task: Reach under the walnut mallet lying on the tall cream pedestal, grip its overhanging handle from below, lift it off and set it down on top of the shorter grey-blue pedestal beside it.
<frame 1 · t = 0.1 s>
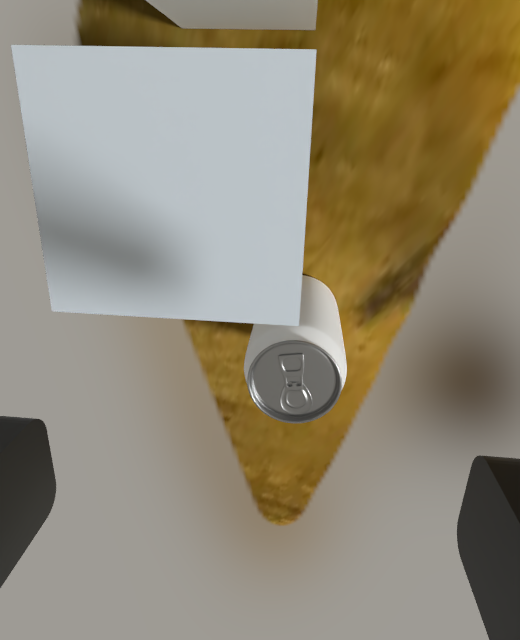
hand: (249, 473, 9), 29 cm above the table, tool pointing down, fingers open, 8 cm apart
can: (298, 309, 39), on the table
short pedestal: (249, 155, 35), on the table
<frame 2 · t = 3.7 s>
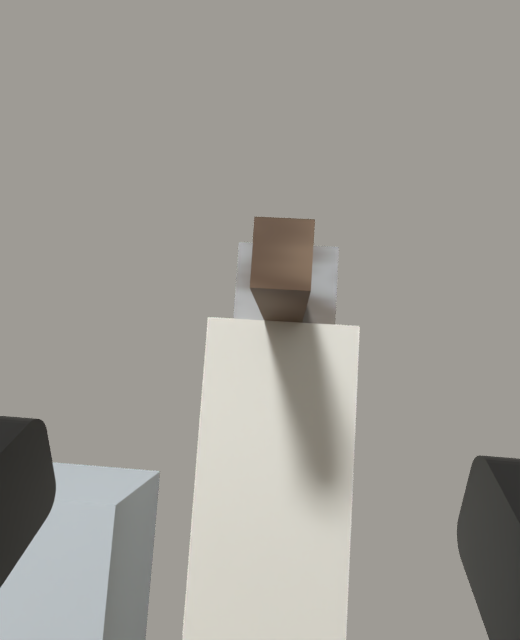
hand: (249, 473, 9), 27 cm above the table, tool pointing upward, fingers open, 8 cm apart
mallet: (283, 323, 26), point 32 cm above the table, touching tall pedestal
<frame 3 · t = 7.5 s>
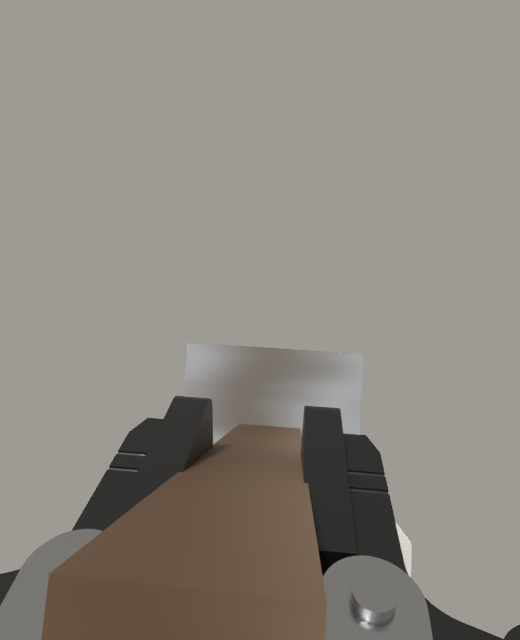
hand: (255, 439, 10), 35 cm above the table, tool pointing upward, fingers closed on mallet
mallet: (260, 518, 13), point 32 cm above the table, touching gripper, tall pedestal
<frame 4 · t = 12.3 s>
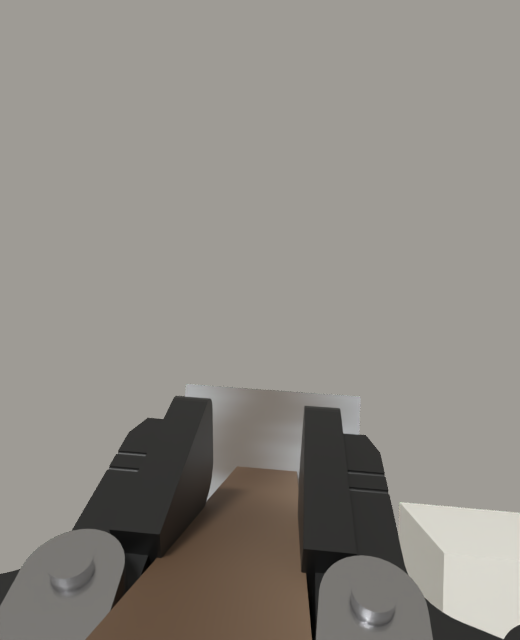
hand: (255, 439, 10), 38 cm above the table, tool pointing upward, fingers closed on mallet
mallet: (257, 566, 13), point 34 cm above the table, touching gripper
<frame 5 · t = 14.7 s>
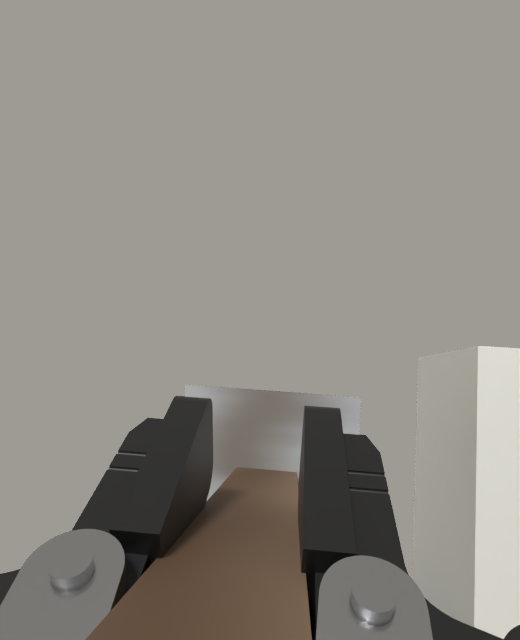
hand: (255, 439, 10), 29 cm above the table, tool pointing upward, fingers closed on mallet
mallet: (257, 567, 13), point 25 cm above the table, touching gripper
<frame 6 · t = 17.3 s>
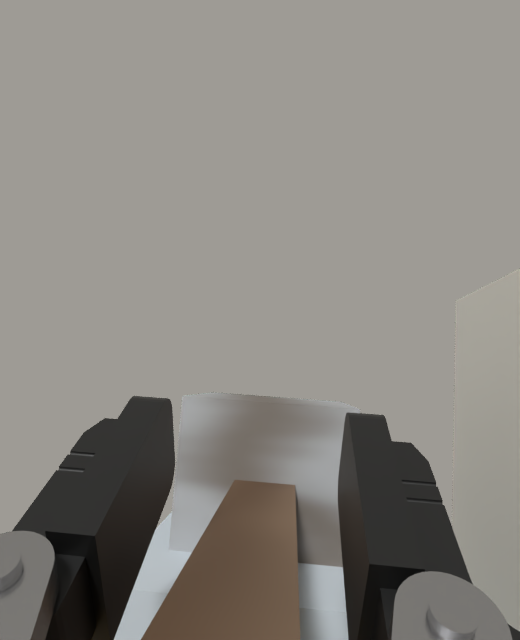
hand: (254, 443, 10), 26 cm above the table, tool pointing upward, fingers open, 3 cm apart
mallet: (254, 585, 13), point 22 cm above the table, touching short pedestal
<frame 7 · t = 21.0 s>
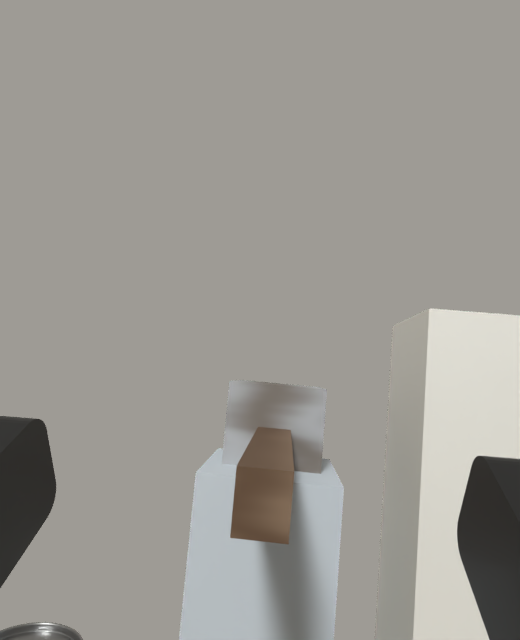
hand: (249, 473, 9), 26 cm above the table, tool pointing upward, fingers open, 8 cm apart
mallet: (269, 475, 26), point 22 cm above the table, touching short pedestal
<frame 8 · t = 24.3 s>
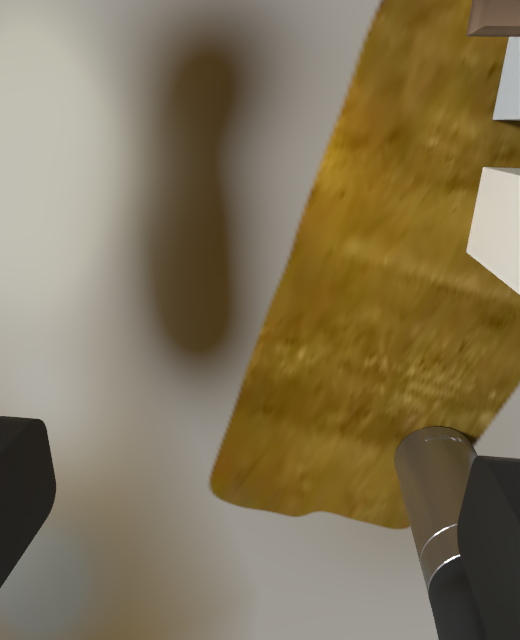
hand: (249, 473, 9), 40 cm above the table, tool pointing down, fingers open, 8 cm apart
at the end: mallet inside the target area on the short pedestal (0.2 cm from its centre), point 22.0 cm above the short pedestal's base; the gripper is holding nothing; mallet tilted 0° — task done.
